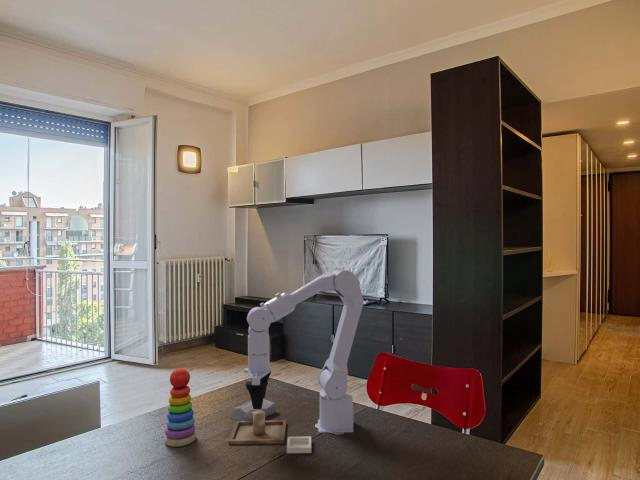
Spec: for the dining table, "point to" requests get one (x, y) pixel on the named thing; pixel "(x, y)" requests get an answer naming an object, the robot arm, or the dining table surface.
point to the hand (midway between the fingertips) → (259, 403)
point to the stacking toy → (180, 411)
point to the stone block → (252, 410)
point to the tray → (245, 436)
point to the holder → (299, 444)
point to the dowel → (259, 422)
